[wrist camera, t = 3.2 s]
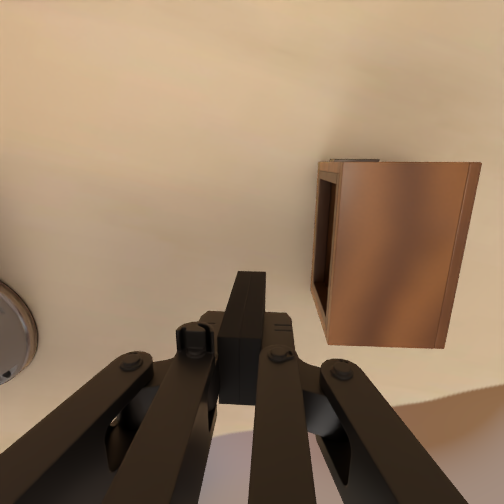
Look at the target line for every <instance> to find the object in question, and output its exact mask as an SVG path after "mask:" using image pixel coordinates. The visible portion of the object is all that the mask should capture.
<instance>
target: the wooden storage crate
mask: <svg viewBox="0 0 504 504" xmlns="http://www.w3.org/2000/svg"><path fill="white" fill-rule="evenodd" d="M481 165H482V163H481V162H379V159H330V162H318V178H317V194H316V210H315V226H314V242H313V259H312V275H311V293H312V296H313V299H314V302H315V305H316V308H317V312H318V315H319V318H320V321H321V324H322V327H323V330H324V334H325V337H326V340H327V343H328V345H345V346H374V347H402V348H431V349H433V348H436V349H444V347H445V342H446V337H447V332H448V327H449V322H450V317H451V313H452V308H453V303H454V298H455V293H456V288H457V283H458V278H459V273H460V268H461V263H462V259H463V254H464V249H465V244H466V239H467V234H468V229H469V224H470V219H471V214H472V210H473V205H474V200H475V195H476V190H477V185H478V180H479V175H480V170H481Z"/></svg>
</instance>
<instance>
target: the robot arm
mask: <svg viewBox="0 0 504 504" xmlns="http://www.w3.org/2000/svg"><path fill="white" fill-rule="evenodd" d="M265 288H266V272H252V271H238V273H237V276H236V279H235V282H234V285H233V289H232V292H231V295H230V298H229V301H228V304H227V307H226V310H225V312H223V311H207V312H206V313H205V314H203V315H202V316H201V318H200V320H199V322H190V323H186V324H183V325H182V326H180V327H178V329H177V330H176V342H177V353H176V355H175V357H174V358H172V359H168V360H163V361H157V362H153V359H152V356H151V355H150V354H148V353H146V352H141V351H134V352H129V353H126V354H123V355H121V356H119V357H118V358H116V359H115V360H114V361H112V362H111V363H110V364H109V365H108V366H106V367H105V368H104V369H103V370H101V371H100V372H99V373H98V374H97V375H95V376H94V377H93V378H92V379H91V380H89V381H88V382H87V383H86V384H85V385H83V386H82V387H81V388H80V389H79V390H77V391H76V392H75V393H74V394H73V395H71V396H70V397H69V398H68V399H67V400H65V401H64V402H63V403H62V404H60V405H59V406H58V407H57V408H56V409H54V410H53V411H52V412H51V413H50V414H48V415H47V416H46V417H45V418H44V419H42V420H41V421H40V422H39V423H38V424H36V425H35V426H34V427H33V428H32V429H30V430H29V431H28V432H27V433H26V434H24V435H23V436H22V437H21V438H20V439H18V440H17V441H16V442H15V443H13V444H12V445H11V446H10V447H9V448H7V449H6V450H5V451H4V452H3V453H1V454H0V504H198V499H199V495H200V491H201V486H202V481H203V476H204V472H205V467H206V463H207V458H208V454H209V449H210V445H211V440H212V435H213V431H214V426H215V422H216V417H217V399H218V395H219V404H236V405H255V417H254V430H253V446H252V457H251V470H250V483H249V497H248V504H316V497H315V488H314V481H313V472H312V464H311V456H310V448H309V440H308V432H310V433H313V434H315V435H316V440H317V443H318V445H319V447H320V450H321V452H322V454H323V457H324V459H325V461H326V464H327V466H328V468H329V470H330V473H331V475H332V477H333V480H334V482H335V484H336V487H337V489H338V491H339V493H340V496H341V498H342V501H343V503H344V504H468V503H467V501H466V500H465V499H464V498H463V496H462V495H461V494H460V493H459V491H458V490H457V489H456V487H455V486H454V485H453V484H452V482H451V481H450V480H449V479H448V477H447V476H446V475H445V474H444V472H443V471H442V470H441V469H440V467H439V466H438V465H437V464H436V462H435V461H434V460H433V459H432V457H431V456H430V455H429V454H428V452H427V451H426V450H425V449H424V447H423V446H422V445H421V444H420V442H419V441H418V440H417V439H416V437H415V436H414V435H413V433H412V432H411V431H410V430H409V429H408V427H407V426H406V425H405V423H404V422H403V421H402V420H401V418H400V417H399V416H398V415H397V413H396V412H395V411H394V410H393V408H392V407H391V406H390V405H389V403H388V402H387V401H386V400H385V398H384V397H383V396H382V395H381V393H380V392H379V391H378V390H377V388H376V387H375V386H374V385H373V383H372V382H371V381H370V380H369V378H368V377H367V376H366V375H365V373H364V372H363V371H362V369H361V368H359V367H358V366H357V365H356V364H354V363H352V362H350V361H348V360H343V359H330V360H326V361H325V362H324V363H322V365H321V368H320V367H316V366H312V365H309V364H307V363H305V362H303V361H302V360H301V359H299V358H298V355H297V353H296V351H295V345H294V337H293V329H292V320H291V318H290V317H289V316H288V314H287V313H277V312H265ZM36 348H37V330H36V326H35V323H34V320H33V317H32V315H31V313H30V311H29V310H28V308H27V306H26V305H25V304H24V302H23V301H22V300H21V299H20V297H19V296H18V295H17V294H16V293H15V292H14V291H12V290H11V289H10V288H9V287H8V286H6V285H5V284H4V283H2V282H0V385H1V384H3V383H6V382H8V381H9V380H11V379H12V378H14V377H15V376H16V375H17V374H18V373H20V372H21V371H22V370H23V369H24V368H25V367H27V366H28V364H29V363H30V362H31V360H32V359H33V357H34V355H35V352H36ZM116 416H117V418H116V419H115V420H114V421H113V422H112V420H113V419H114V418H115V417H116ZM111 422H112V423H111ZM110 423H111V424H110Z"/></svg>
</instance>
